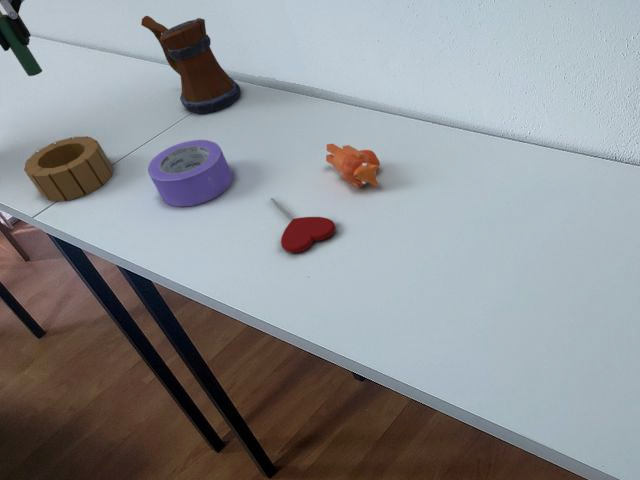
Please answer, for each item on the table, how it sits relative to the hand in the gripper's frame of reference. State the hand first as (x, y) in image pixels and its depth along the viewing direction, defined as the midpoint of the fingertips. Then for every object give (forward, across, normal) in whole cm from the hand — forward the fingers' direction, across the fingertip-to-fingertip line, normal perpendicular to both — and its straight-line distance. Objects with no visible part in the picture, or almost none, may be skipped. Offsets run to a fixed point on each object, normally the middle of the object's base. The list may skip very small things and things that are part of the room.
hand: (17, 44), depth 105 cm
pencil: (+5, 0, 0) cm, 5 cm away
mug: (+20, +23, +8) cm, 31 cm away
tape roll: (+20, +19, -26) cm, 38 cm away
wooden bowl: (+19, -1, -12) cm, 23 cm away
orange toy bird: (+20, +44, -39) cm, 62 cm away
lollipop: (+19, +32, -45) cm, 59 cm away
